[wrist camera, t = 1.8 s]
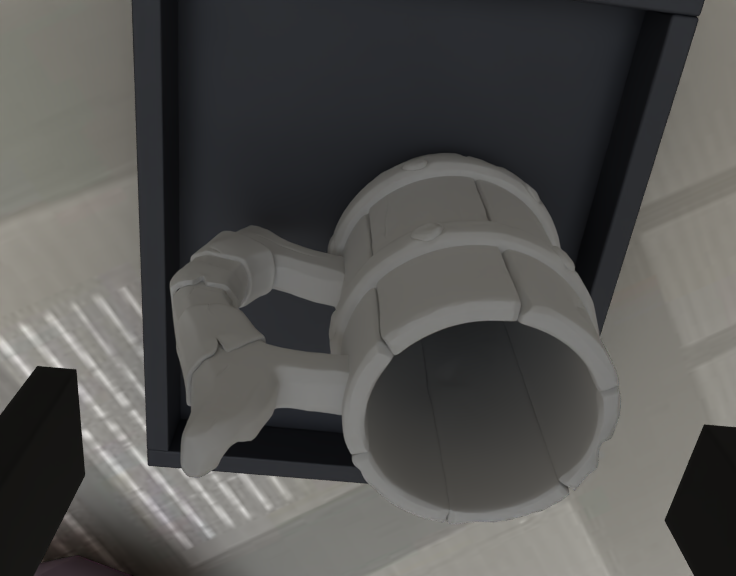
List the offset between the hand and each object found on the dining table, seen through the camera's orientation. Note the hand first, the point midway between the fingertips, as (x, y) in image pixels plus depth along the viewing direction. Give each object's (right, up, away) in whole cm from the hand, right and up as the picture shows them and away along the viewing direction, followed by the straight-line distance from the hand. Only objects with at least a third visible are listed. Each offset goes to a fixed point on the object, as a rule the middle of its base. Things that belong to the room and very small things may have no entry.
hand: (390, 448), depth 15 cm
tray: (0, +5, +10) cm, 11 cm away
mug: (0, +5, +10) cm, 11 cm away
